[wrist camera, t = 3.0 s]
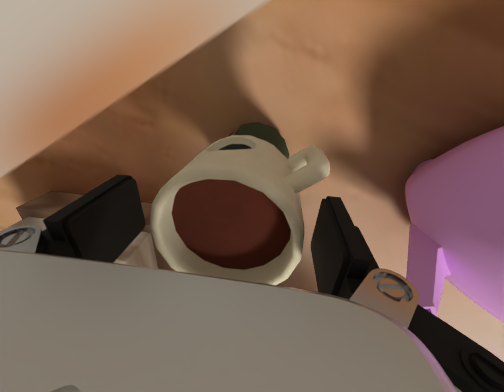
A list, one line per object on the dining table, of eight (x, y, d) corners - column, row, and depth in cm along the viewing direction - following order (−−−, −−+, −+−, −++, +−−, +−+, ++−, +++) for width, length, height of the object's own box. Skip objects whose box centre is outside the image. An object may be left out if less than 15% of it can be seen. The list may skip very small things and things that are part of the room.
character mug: (286, 85, 18) (291, 91, 6) (325, 156, 20) (380, 252, 9) (192, 154, 22) (92, 233, 10) (234, 206, 24) (189, 318, 13)
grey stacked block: (175, 205, 25) (134, 254, 18) (187, 295, 33) (161, 354, 26) (51, 191, 26) (-33, 230, 19) (90, 280, 34) (40, 332, 27)
